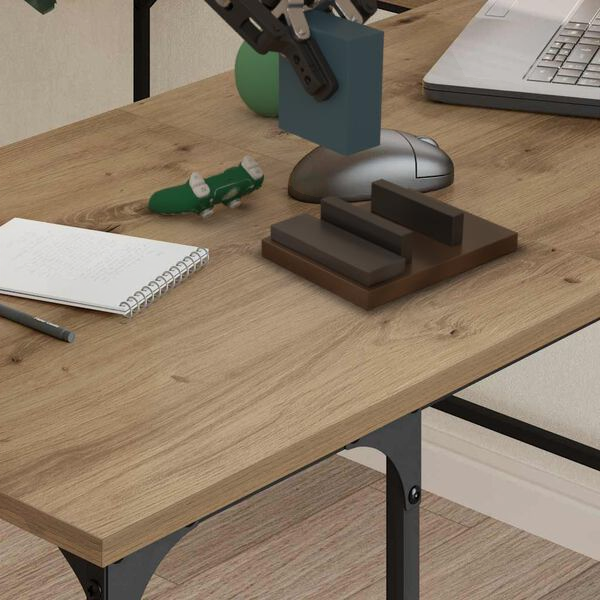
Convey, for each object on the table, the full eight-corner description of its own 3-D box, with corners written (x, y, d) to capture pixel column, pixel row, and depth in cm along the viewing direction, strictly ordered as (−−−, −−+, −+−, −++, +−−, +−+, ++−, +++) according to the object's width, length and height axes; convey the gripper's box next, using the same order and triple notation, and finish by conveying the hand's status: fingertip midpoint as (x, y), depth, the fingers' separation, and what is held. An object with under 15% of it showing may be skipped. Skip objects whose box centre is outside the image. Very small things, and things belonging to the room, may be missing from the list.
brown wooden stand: (367, 310, 101) (369, 260, 99) (261, 256, 109) (260, 208, 107) (517, 250, 110) (521, 202, 109) (408, 204, 118) (410, 159, 117)
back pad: (345, 156, 94) (348, 40, 91) (278, 128, 99) (278, 16, 95) (380, 145, 96) (384, 31, 93) (312, 118, 101) (313, 8, 97)
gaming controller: (162, 241, 116) (194, 209, 111) (141, 201, 116) (172, 167, 111) (248, 211, 121) (281, 180, 117) (227, 173, 122) (260, 140, 117)
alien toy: (325, 119, 137) (327, 17, 133) (253, 130, 134) (252, 27, 130) (293, 97, 143) (293, -1, 138) (223, 108, 140) (221, 8, 135)
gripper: (173, -148, 90) (297, 83, 87) (336, -171, 98) (454, 40, 96) (129, -78, 96) (244, 140, 93) (287, -105, 104) (397, 95, 102)
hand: (350, 88), depth 95 cm, fingers closed on back pad, 3 cm apart
